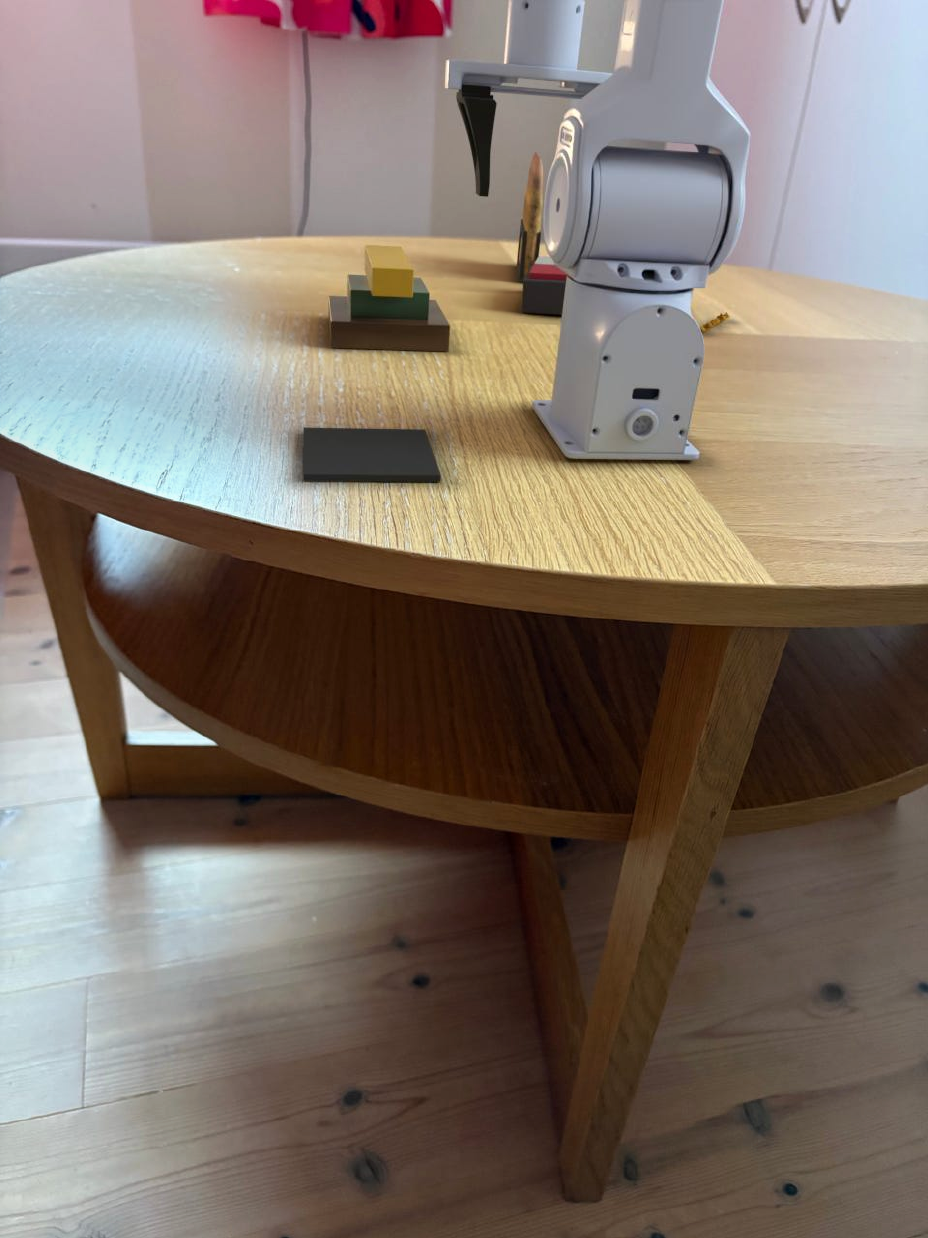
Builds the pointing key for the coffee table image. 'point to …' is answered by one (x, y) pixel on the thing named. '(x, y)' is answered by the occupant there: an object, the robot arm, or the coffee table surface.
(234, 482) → the coffee table surface
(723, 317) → the keychain
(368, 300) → the stepped green brown block
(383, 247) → the bar
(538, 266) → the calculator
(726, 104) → the robot arm
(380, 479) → the mat
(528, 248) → the ammunition clip
